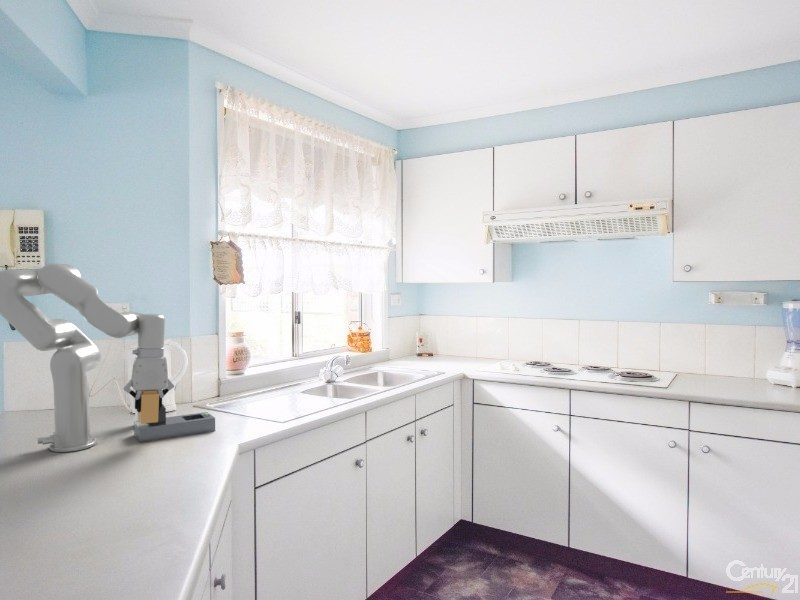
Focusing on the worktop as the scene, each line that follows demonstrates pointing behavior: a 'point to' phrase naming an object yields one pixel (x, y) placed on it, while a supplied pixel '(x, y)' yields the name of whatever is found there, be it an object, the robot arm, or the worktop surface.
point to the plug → (149, 406)
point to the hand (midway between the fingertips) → (148, 409)
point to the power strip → (174, 426)
